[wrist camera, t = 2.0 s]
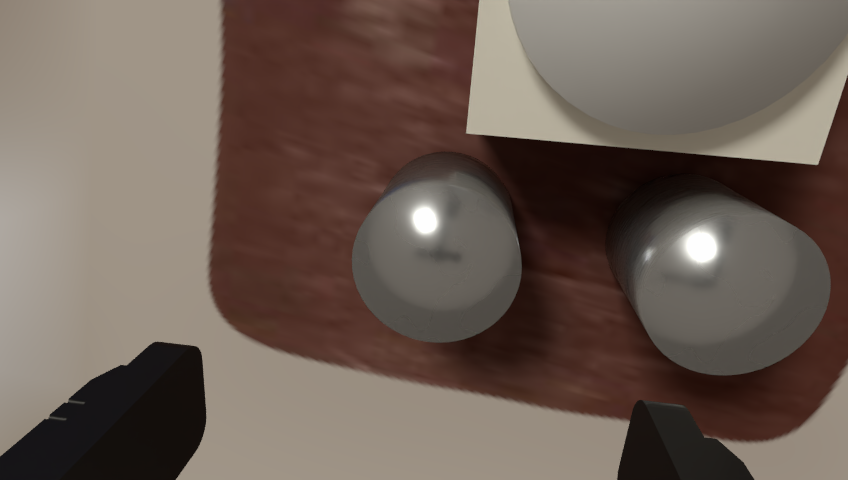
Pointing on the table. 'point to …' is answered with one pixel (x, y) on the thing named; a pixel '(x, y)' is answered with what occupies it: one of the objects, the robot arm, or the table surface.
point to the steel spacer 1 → (439, 250)
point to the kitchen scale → (663, 74)
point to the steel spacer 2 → (716, 275)
